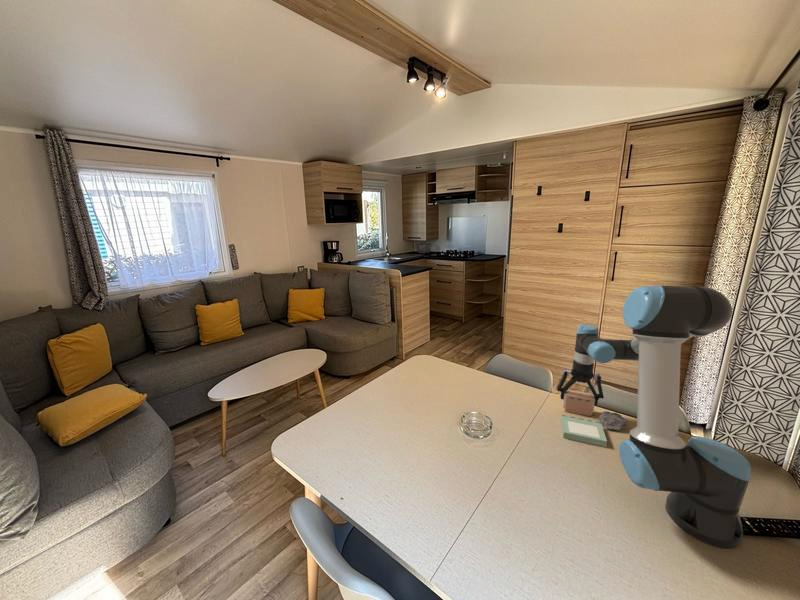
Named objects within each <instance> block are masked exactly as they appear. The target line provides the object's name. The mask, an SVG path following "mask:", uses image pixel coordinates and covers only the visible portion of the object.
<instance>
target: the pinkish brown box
mask: <svg viewBox="0 0 800 600" xmlns="http://www.w3.org/2000/svg"><path fill="white" fill-rule="evenodd" d="M593 396H594V395H593V393H592V392H591V393H590V392H585V391H580V390H573V389H568V390H567V391H566V402H565V408H564V407H563V410H564V412H565V411H566V413H571V414H577V415H581V416H586V417H592V415H593V413H592V408H593V401H594V399H593Z"/></svg>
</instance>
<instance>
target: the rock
mask: <svg viewBox="0 0 800 600" xmlns="http://www.w3.org/2000/svg"><path fill="white" fill-rule="evenodd" d="M598 420H599V422H601V425H602V427H604V428H605V429H607V430H610V431H611V430H613V431H619V432H622V430H624V429H625V428H626V427H627V426H628V423H629V420H628V419H626V417H624V416H622V415H621V414H620V413H618V412H610V411H603V412H602V413H601V414H600V415H599V417H598ZM625 426H626V427H625ZM624 427H625V428H624Z"/></svg>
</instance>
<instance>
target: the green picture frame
mask: <svg viewBox="0 0 800 600" xmlns="http://www.w3.org/2000/svg"><path fill="white" fill-rule="evenodd" d="M560 425H561V432H562V437H563V439H567V440H571V441H576V442H580V443H585V444H589V445H594V446H598V447H603V448H607V444H608V440H607V437H606V434H605V431H604V428H603V425H602V424H601V422H600V421H596V420H590V419H586V418H582V417H581V418H580V417H575V416H570V415H565V414H561V415H560Z"/></svg>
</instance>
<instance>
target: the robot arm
mask: <svg viewBox="0 0 800 600" xmlns="http://www.w3.org/2000/svg"><path fill="white" fill-rule="evenodd" d="M732 315H733V308H732V304H731V302H730V300H729V299H728V298H727V297H726V295H724V294H723V293H721V292H720V291H719V290H716V289H714V288H711V287H706V286H700V285H699V286H698V285H697V286H696V285H693V286H689V285H688V286H685V285H646V286H645V285H643V286H638V287H637V288H634V289H633V290H632V291H631V292H630V293H629V294H628V296H626V299H625V301H624V303H623V308H622V319H623V321H624V324H625V326H626V327H628V328H629V329H630V330H631V329H632V335H633V336H634V337H633V338H631V339H608V338H607V339H606V338H601V337H600V336H599V334H600V331H599V330H600V329H599V327H597V326H595V325H592V324H580V325H578V326H577V330H576V337H575V345H574V353H573V361H572V368H571V370H567V369H563V374H562V376H561V378H560V380H559V382H558V384H557V386H556V390H557V391H558V392H560V399H561V400H562V403H561V405H562V408H563V409H564V408H565V402H566V391H567V390H570V388H571V387H572V386H573V385H574V384H575V383H583V384H587V386H588V387H589V389H590V391H591V394H592V396H593V399H594V401H593V408H592V414H593V413H594V410H595V406H597V405H598V402H599V399H604V398H605V397H604V393H603V386H602V383H601V381H602V376H601V374H599V373H598V374H594V367H595V361H596V362H597V363H600V364H606V363H610V362H612V361H613V360H614V361H615V360H616V361H617V360H620V361H633V362H634V361H638V364H637V365H638V370H637V402H636V403H637V405H636V408H637V411H636V426H635V427H633V428H632V429H630V430H629V439H623V440H621V441H620V443H619V445H618V446H619V447H618V451H619V458H620V462H621V465H622V467H623V469H624V471H625V474H626V476H628V478H629V479H630V481H631V482H632V483H633V484H634V485H636V486H637V487H639V488H640V489H641V488H642V489H644V490H645V489H646V490H652V491H654V492H667V493H668V492H669V494H667V497H666V501H665V504H664V506H665V510H666V513H667V515H668V516H669V517H670V518H671V520H672V521H673V522H674V523H675V524H676V525H677V526H679V528H681V529H682V530H683V531H684V532H686V533H688V535H690V536H692V537H694V538H695V539H697V540H699V541H701V542H703V543H706V544H708V545H711V546H713V547H716V548H722V549H735V548H738V547H739V546H740V545H741V544H742V540H743V536H744V531H743V525H742V520H741V517H740V509H741V506H742V504H743V500H744V497H745V494H746V491H747V488H748V485H749V482H750V480H751V471H752V467H751V464H750V462H749V461H748V459H746V457H745V456H743V455H742V454H741V453H740V452H738V451H737V450H736V449H734V448H732V447H730V446H728V445H726V444H725V443H722V442H720V441H718V440H714V439H712V438H709V437H705V436H697V435H696V436H691V437H690V439H688V441H687V443H688V444H686V442H685V441H684V440H683V439H682V438H681V437H680V436H679V425H680V424H679V423H680V422H679V418H680V416H679V415H680V385H681V384H680V383H681V381H680V380H681V379H680V378H681V356H682V355H681V351H682V350H681V349H682V347H681V346H682V344H683V343H685V342H686V341H688V340H689V339H691V338H693V337H695V336H698V337H705V336H708V335H710V334H713V333H715V332H718V331H720V330H721V329H723V328H724V327H725V326H726V325H727V324H728V323H729V322H730V321H731V319H732ZM570 375H571V378H570V379H569V380H568V381H567V382H566V380H567V378H568V377H569V376H570ZM593 378H594V380H595V381H596V385H597V390H598V393H597V391H596V389H595V387H594V386H593V383H592V381H591V380H592V379H593ZM565 382H566V383H565ZM564 384H565V385H564Z"/></svg>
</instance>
